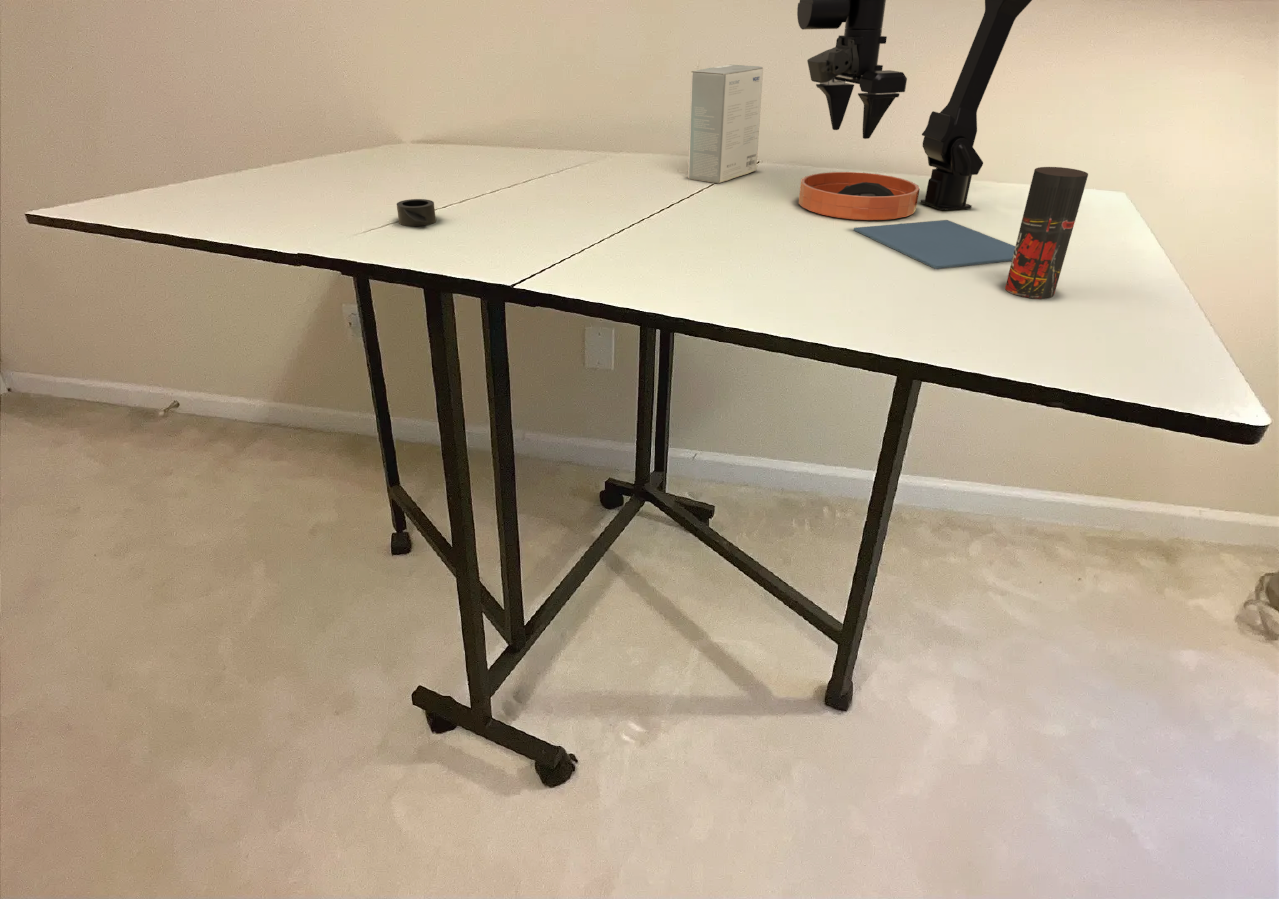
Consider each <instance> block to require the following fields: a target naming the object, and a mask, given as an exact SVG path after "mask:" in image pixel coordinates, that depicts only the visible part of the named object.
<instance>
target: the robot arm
mask: <svg viewBox="0 0 1279 899" xmlns="http://www.w3.org/2000/svg"><path fill="white" fill-rule="evenodd" d="M1032 1H1033V0H984V13H983V15H982V19H981V20H980V23H979V26H978V29H977V31H976V34H975V36H974V39H973V41H972V43H971V46H970V48H969V51H968V54H967V55H966V59H965V61H964V63H963V66H962V68H961V71H960V73H959V76H958V78H957V81H956V83H955V86H954V88H953V91H952V93H951V96H950V99H949V100H948V102H947V104H946V105H945V107H944V108H943V109H942V110H941V111H940V112H938V111H931V113H930V115H929V118H928V121H927V125H926V127H925V129H924V130H923V131H922V133H921V136H922V137H923V139H922V148H923V151H924V153H925V155H926V156H927V163H928V167H932V170H931V175H930V178H929V179H928V182H927V187H926V192H925V198H924V199H920V202H919V203H920V204H923V205H926V206H928V207H931V208H934V209H936V210H939V211H955V210H967V209H972V206H973V205H972V204H969V203H967V200H968V196H969V191H970V188H971V182H972V177H973V176H977V175H978V174H979V173H980V171H981V169H982V167H983V165H984V161H983V159H982V158H981V157H980V155H979V154H978V153H977V151H976V149H975V148H974V144H975V141H976V137H977V134H978V109H979V107H980V105H981V102H982V100H983V97H984V96H985V93H986V91H987V88H988V86H989V83H990V80H991V78H992V75H993V73H994V71H995V69H996V66H997V63H998V61H999V59H1000V57H1001V54H1002V51H1003V50H1004V47H1005V44H1006V43H1007V40H1008V37H1009V35H1010V32H1011V30H1012V28H1013V24H1014V23H1015V22H1016V19H1017V18H1018V17H1019V15H1020V14H1021V13H1023V11H1025V9H1026V8H1027V7H1028V5H1030V3H1031V2H1032ZM886 3H887V0H799V2H798V3H797V8H796V14H797V23H798V26H799V29H801V30H802V31H803V30H838V29H839V28H840V27H841V26H842V24H843V23H845V24H844V33H843V34H841V35H840V34H839V35H838V37H837V38H836V42H835V47H832V48H829V49H826V50H824V51H822V52H820V53H818V54H816V55H814V56H812V57H810V58H808V59H807V66H808V72H809V77H810V80H811V82H814V83H816V84H815V86H816V88H817V89H818V90H820V91H821V92H822V93H823V94H824V95H825V98H826V102H827V107H828V112H829V117H830V124H831V128H832V130H833V131H839V130H840V128H841V125H842V124H843V121H844V119H845V118H844V117H845V115H846V112H847V108H848V106H849V103H850V99H851V96H852V93H853V91H854V87H855V84H856V85H858V86H859V88H860V91H861V92H858V93H857V96H858V97H859V99H860V100H861V102H862V103H863V111H862V112H863V114H862V139H864V140H867V139H868V140H869V139H870V138H871V136H872V135H873V134H874V132H875V130H876V128H877V127H878V125H879V123H880V122H881V120H882V118H883V117H884V115H885V114H886V112H887V110H888V109H889V108H890V106H891V105H892V103H894V101H895V99H896V98H900V93H906V87H907V83H908V82H907V81H908V77H907V76H906V75H905V73H904V72H903V71H897V70H891V69H889V70H887V69H886V70H883V68H884V65H883V64H878V62H879V55H880V50H881V49H880V48H881V45H882V44H883V45H885V44H887V38H888V36H886V35H882V33H883V27H884V26H883V25H884V18H885V10H886Z"/></svg>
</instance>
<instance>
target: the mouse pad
mask: <svg viewBox="0 0 1279 899" xmlns="http://www.w3.org/2000/svg"><path fill="white" fill-rule="evenodd" d="M853 231H854V232H857V233H859V234H861V235H863V236H865V237H867V238H869V239H871V240H874V241H876V242H877V243H880V244H882V245H883V246H886V247H888V248H889V249H892V250H895V251H897V252H898V253H901V254H903V255H906V256H907V257H910V258H911V259H914V260H916V261H918V262H920V263H922V264H924V265H926V266H929V267H931V268H933V269H934V270H937V269H949V268H957V267H968V266H975V265H985V264H995V263H996V264H997V263H1003V262H1004V263H1006V262H1012V258H1013V254H1014V250H1015V246H1016V245H1013V244H1010V243H1008V242H1005V241H1002V240H1000V239H998V238H995V237H993V236H990V235H988V234H985V233H982V232H980V231H977V230H974V229H972V228H969V227H967V226H964V225H961V224H959V223H957V222H956V223H955V222H953V221H951V220H948V219H941V220H930V221H920V222H919V221H917V222H908V223H907V222H906V223H895V224H882V225H872V226H871V225H870V226H860V227H853Z"/></svg>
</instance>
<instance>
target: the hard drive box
mask: <svg viewBox="0 0 1279 899" xmlns="http://www.w3.org/2000/svg"><path fill="white" fill-rule="evenodd" d="M763 67H764V66H759V65H758V66H757V65H744V64H725V65H720V66H719V65H718V66H713V67H707V68H702V69H696V70H692V71H690V72H691V73H690V100H689V101H690V103H689V104H690V105H689V134H688V136H689V138H688V163H687V164H688V165H687V168H688V169H687V178H688V180H694V181H701V182H709V183H713V184H720V183H724V182H728V181H730V180H733V179H735V178H738V177H741V176H744V175H748V174H750V173H754V172H756V171H757V168H758V166H757V165H758V152H759V136H760V124H761V123H760V122H761V108H762V107H761V105H762V93H763V77H764V76H763V75H764V68H763Z"/></svg>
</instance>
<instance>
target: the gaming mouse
mask: <svg viewBox="0 0 1279 899" xmlns="http://www.w3.org/2000/svg"><path fill="white" fill-rule="evenodd" d="M837 194H845V195H854V196H895V195H894V194H893V193H892V192H891V191H890V190H889V189H888V188H886V187H884V186H882V185H880V184H878V183H869V182H861V183H857V184H853V185H851V186H849V185H847V186H845V187H844V189H843V190H841V191H840V192H838V193H837Z"/></svg>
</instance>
